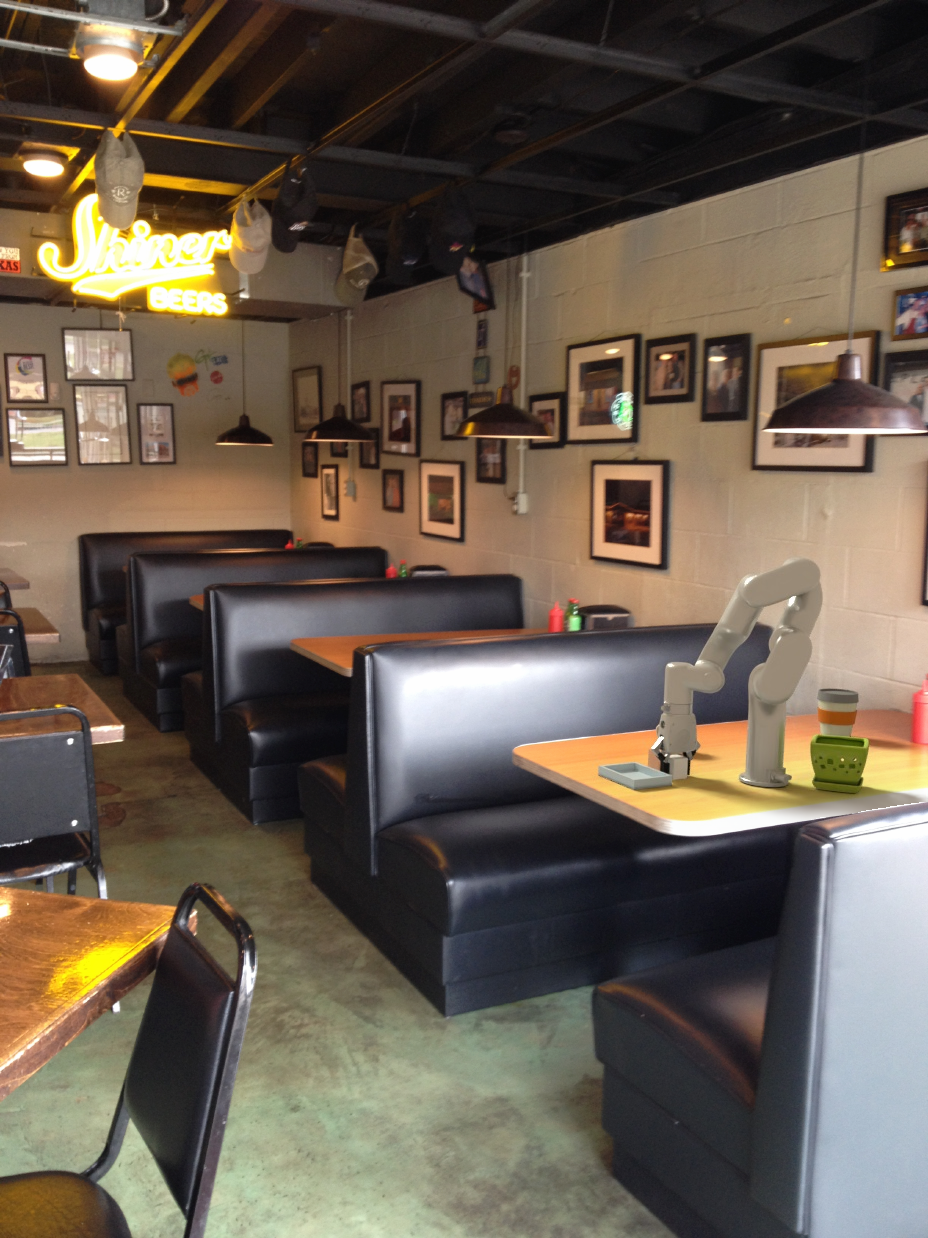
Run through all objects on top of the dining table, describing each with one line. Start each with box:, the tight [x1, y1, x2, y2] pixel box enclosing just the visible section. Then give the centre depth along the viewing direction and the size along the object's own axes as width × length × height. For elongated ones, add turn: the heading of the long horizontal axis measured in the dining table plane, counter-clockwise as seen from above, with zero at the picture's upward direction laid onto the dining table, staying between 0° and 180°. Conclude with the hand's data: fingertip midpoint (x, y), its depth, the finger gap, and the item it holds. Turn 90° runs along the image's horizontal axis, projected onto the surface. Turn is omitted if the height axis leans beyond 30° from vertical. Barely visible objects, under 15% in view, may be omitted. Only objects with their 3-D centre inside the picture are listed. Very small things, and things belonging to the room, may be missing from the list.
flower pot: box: [809, 733, 870, 794], centre depth 264 cm, size 14×14×13 cm
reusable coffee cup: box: [816, 687, 860, 737], centre depth 328 cm, size 13×13×15 cm
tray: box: [597, 761, 673, 791], centre depth 267 cm, size 16×12×3 cm
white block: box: [668, 754, 688, 781], centre depth 272 cm, size 4×4×6 cm
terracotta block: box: [647, 748, 673, 771], centre depth 280 cm, size 4×4×6 cm
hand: (674, 774), depth 272 cm, fingers open, 6 cm apart
